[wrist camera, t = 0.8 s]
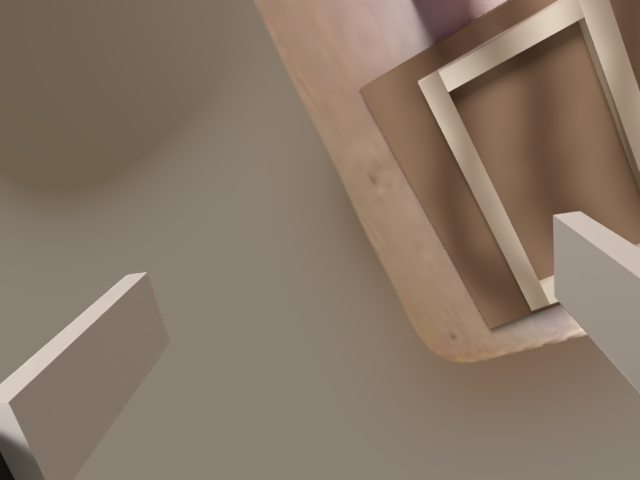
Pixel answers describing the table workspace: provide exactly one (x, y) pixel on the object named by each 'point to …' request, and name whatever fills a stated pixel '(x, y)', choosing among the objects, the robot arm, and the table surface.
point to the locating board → (520, 139)
